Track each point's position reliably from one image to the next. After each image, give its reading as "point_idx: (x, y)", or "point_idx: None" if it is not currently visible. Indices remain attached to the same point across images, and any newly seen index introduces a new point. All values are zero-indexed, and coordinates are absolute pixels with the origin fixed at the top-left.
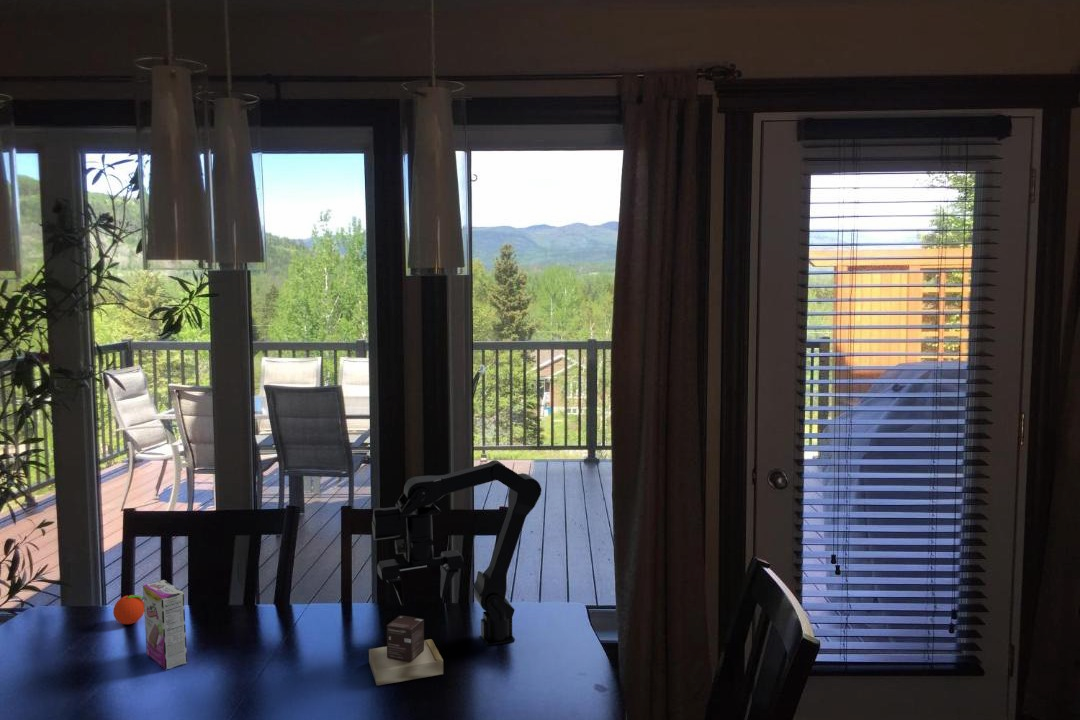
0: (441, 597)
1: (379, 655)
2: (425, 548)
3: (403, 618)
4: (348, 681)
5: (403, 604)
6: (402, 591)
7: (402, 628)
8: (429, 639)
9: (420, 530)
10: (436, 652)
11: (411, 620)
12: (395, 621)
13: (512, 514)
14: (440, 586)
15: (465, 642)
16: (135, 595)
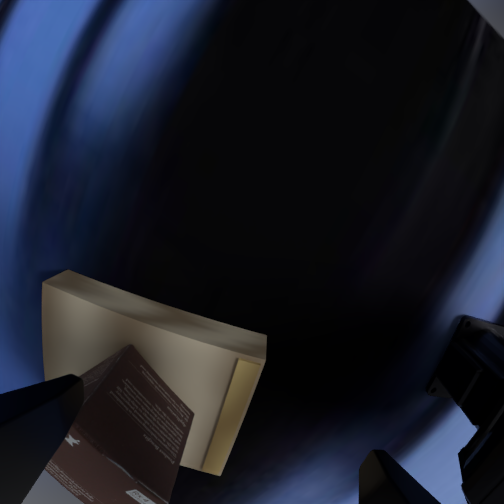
0: (362, 470)
1: (61, 344)
2: None
3: (80, 456)
4: (17, 327)
5: (79, 410)
6: (22, 498)
7: (71, 491)
8: (252, 364)
9: None
10: (224, 445)
11: (111, 486)
12: None
13: None
14: (399, 501)
15: (399, 333)
16: None
